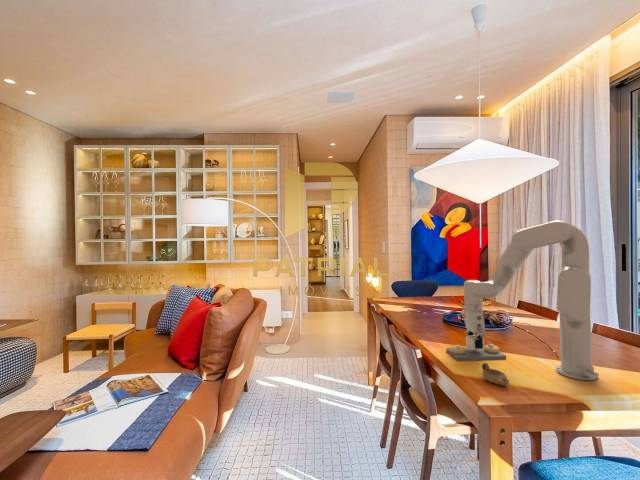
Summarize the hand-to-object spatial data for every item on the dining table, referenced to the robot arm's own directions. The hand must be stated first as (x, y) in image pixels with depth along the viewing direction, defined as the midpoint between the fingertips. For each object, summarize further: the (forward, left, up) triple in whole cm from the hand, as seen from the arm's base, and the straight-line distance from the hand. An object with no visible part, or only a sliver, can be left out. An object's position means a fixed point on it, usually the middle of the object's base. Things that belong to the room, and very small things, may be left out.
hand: (474, 345), depth 148 cm
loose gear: (0, 0, -1) cm, 1 cm away
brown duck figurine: (-27, +6, -5) cm, 28 cm away
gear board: (0, 0, -5) cm, 5 cm away
